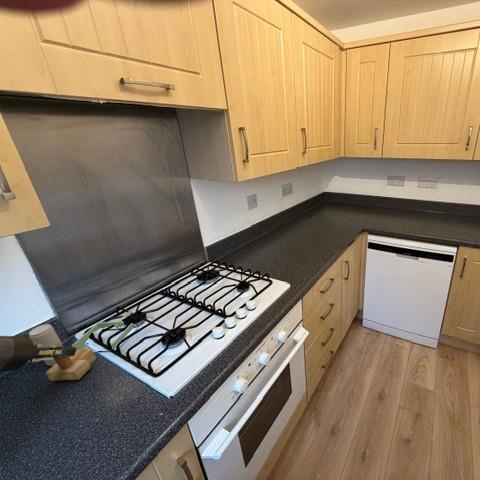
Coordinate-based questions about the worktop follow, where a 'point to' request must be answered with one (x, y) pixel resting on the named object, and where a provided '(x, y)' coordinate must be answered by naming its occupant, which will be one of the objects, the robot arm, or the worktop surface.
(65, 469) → the worktop surface
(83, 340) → the pale green curved piece
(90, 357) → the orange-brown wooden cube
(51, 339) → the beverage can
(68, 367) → the wooden t-shaped piece
